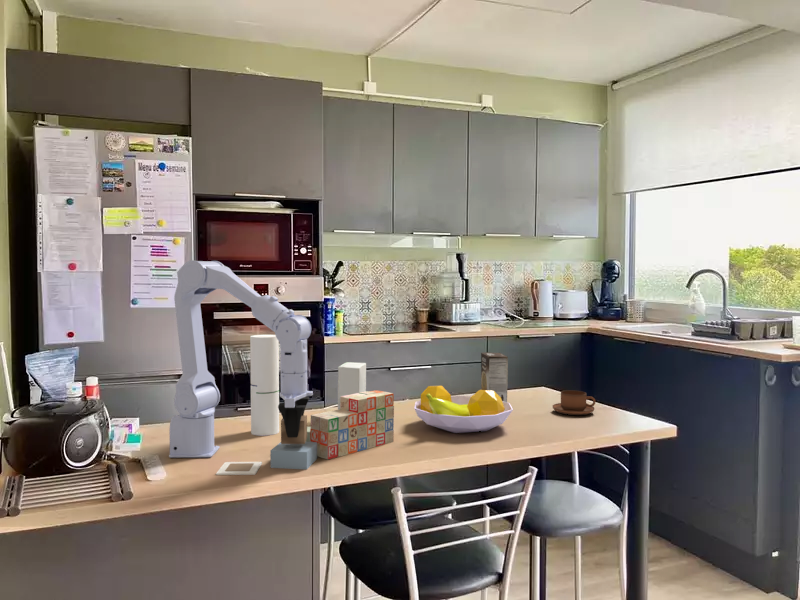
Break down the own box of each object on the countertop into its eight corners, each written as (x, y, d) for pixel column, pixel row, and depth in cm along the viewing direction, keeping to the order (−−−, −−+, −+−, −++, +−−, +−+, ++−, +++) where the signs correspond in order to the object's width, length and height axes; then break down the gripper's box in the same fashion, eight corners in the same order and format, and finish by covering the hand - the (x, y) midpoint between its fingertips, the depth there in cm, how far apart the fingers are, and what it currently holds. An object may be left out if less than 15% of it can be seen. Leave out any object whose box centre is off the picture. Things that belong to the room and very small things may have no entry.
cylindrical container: (265, 427, 173) (265, 334, 172) (285, 431, 169) (284, 335, 168) (245, 432, 168) (244, 336, 166) (264, 437, 164) (263, 338, 162)
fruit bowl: (468, 411, 193) (468, 374, 193) (533, 431, 170) (534, 388, 170) (388, 424, 178) (388, 382, 177) (448, 446, 155) (448, 399, 155)
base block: (270, 468, 139) (270, 450, 138) (282, 458, 146) (282, 440, 146) (306, 470, 137) (306, 452, 137) (317, 459, 145) (317, 442, 145)
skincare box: (345, 415, 188) (345, 361, 187) (367, 416, 187) (367, 362, 186) (336, 422, 180) (336, 366, 179) (359, 423, 178) (359, 366, 178)
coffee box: (480, 403, 206) (480, 352, 205) (499, 402, 206) (500, 352, 206) (487, 409, 197) (487, 356, 196) (507, 408, 197) (508, 355, 197)
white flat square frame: (215, 474, 133) (215, 473, 133) (225, 463, 141) (225, 461, 141) (255, 474, 134) (255, 472, 134) (262, 463, 142) (262, 461, 142)
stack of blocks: (327, 460, 144) (327, 405, 143) (309, 455, 148) (309, 401, 148) (394, 442, 160) (394, 392, 159) (376, 437, 164) (376, 389, 163)
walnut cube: (281, 444, 139) (280, 420, 139) (284, 437, 144) (284, 415, 144) (304, 443, 139) (304, 420, 139) (307, 437, 144) (307, 415, 144)
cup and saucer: (586, 408, 198) (587, 388, 198) (600, 417, 186) (600, 396, 186) (547, 409, 198) (548, 389, 198) (558, 418, 186) (559, 396, 186)
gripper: (308, 377, 134) (309, 442, 134) (315, 366, 148) (315, 425, 149) (274, 377, 134) (274, 442, 134) (284, 366, 148) (284, 425, 149)
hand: (294, 433), depth 142 cm, fingers closed on walnut cube, 5 cm apart
